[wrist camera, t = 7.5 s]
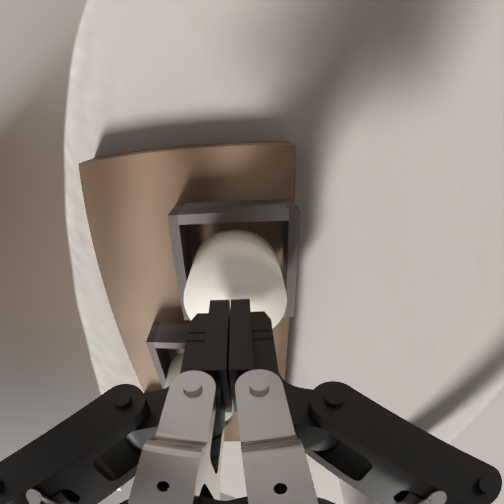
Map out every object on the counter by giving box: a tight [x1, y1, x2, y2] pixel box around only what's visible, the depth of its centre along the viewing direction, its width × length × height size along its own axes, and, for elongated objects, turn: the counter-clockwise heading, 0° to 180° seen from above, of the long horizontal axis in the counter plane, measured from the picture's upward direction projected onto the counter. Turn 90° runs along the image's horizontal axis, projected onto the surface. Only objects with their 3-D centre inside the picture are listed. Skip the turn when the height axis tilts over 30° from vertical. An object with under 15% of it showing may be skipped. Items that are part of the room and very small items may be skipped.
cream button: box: [183, 229, 287, 329], centre depth 14 cm, size 4×4×3 cm
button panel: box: [79, 142, 300, 441], centre depth 20 cm, size 12×28×4 cm, turn 1°
